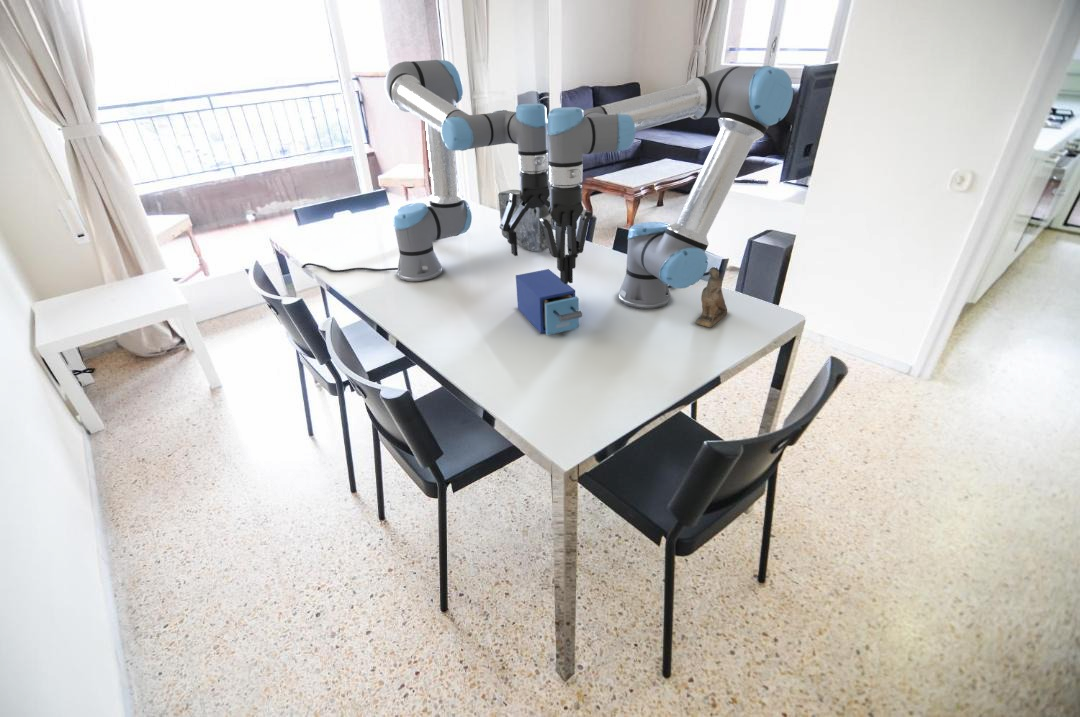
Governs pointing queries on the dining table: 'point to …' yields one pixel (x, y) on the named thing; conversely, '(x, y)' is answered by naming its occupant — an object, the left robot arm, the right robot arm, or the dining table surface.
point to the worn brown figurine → (712, 301)
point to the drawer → (560, 314)
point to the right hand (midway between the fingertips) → (566, 281)
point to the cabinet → (538, 294)
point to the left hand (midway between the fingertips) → (537, 250)
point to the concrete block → (526, 224)
